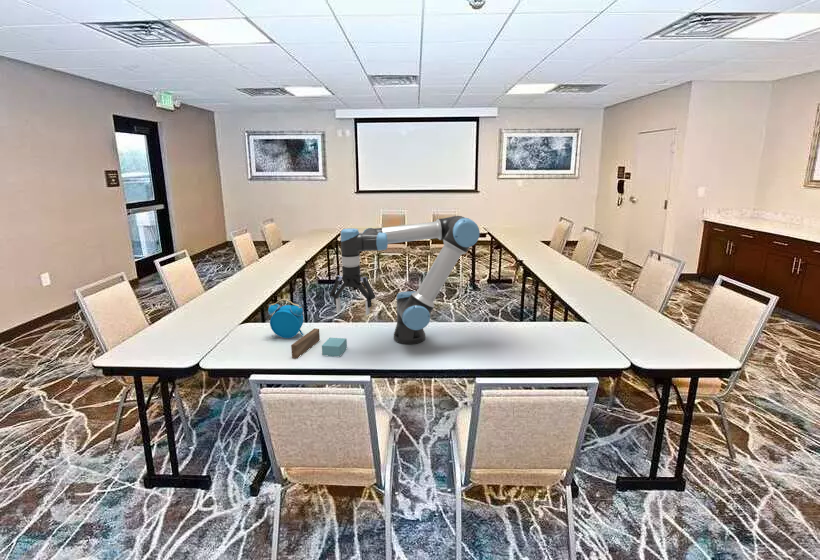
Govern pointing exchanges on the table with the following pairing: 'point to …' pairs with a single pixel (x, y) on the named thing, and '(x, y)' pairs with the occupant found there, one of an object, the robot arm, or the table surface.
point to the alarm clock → (286, 319)
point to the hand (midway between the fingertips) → (353, 313)
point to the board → (305, 343)
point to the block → (334, 346)
